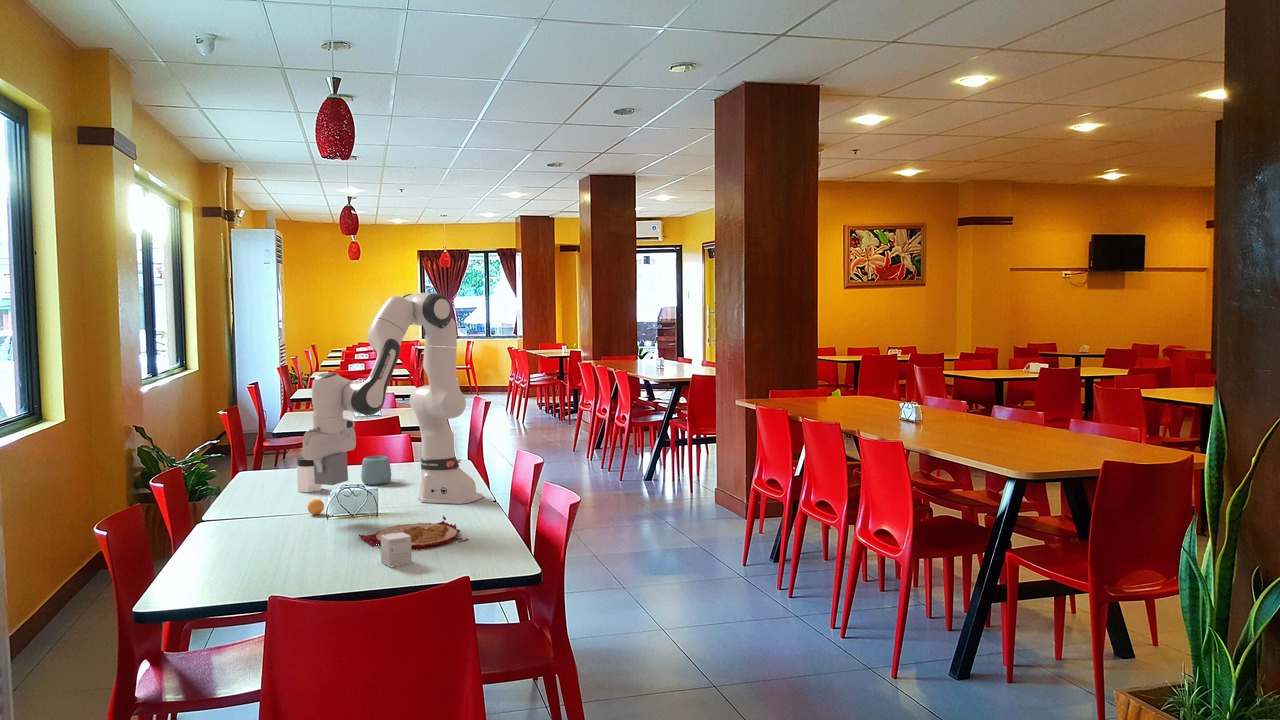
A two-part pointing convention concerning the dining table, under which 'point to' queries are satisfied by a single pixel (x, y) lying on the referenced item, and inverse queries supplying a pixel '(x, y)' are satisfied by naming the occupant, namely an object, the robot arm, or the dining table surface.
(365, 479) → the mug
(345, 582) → the dining table surface
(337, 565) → the dining table surface
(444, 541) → the plate with food
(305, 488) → the jar
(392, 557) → the product box
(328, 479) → the gray block
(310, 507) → the ball
